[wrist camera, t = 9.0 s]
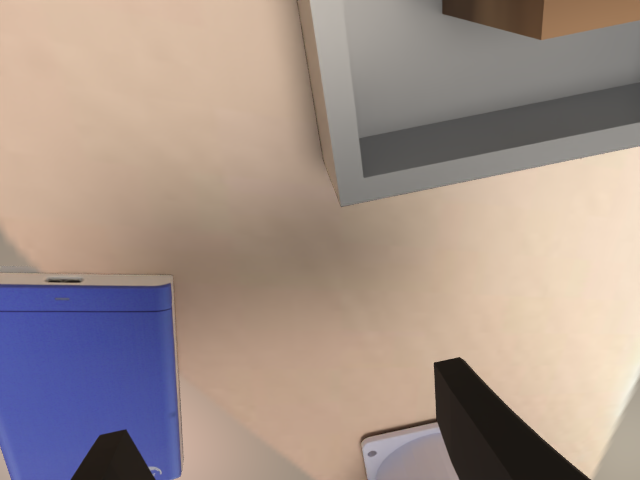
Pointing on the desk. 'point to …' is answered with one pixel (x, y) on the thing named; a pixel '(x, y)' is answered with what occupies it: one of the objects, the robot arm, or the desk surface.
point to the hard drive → (87, 370)
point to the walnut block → (544, 15)
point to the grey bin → (459, 95)
